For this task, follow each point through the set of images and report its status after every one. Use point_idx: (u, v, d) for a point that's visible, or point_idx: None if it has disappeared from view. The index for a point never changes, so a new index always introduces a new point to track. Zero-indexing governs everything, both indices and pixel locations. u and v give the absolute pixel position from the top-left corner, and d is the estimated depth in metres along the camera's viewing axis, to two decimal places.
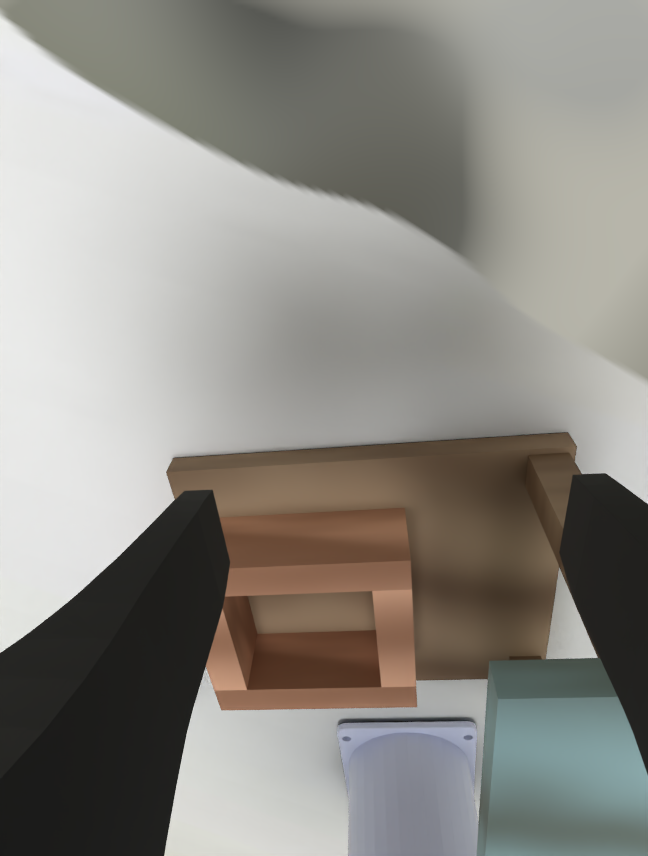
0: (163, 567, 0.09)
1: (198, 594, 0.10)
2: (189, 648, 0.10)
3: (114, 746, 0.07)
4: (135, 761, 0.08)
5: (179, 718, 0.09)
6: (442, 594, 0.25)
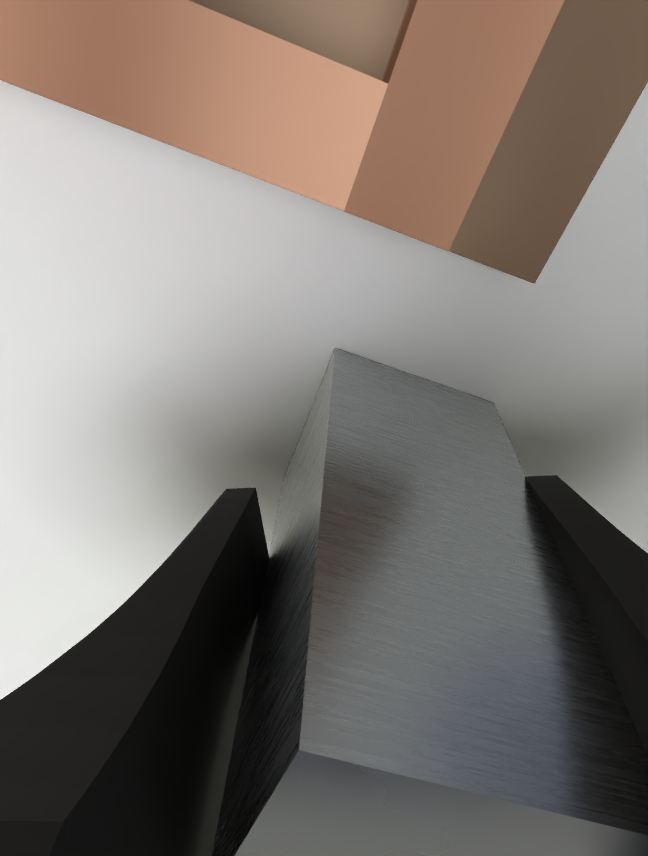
0: (217, 565, 0.09)
1: (245, 593, 0.10)
2: (238, 647, 0.10)
3: (181, 746, 0.07)
4: (197, 761, 0.08)
5: (231, 718, 0.09)
6: None
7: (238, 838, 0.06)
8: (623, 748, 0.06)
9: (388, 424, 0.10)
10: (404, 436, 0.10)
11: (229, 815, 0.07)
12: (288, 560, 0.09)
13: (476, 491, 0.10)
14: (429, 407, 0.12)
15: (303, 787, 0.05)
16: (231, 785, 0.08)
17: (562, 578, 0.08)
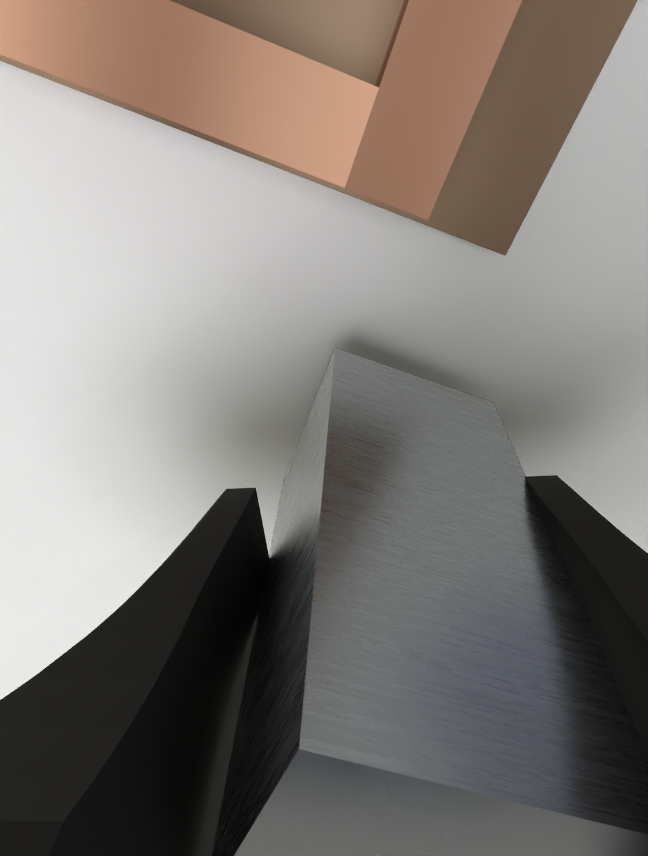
0: (217, 565, 0.09)
1: (245, 593, 0.10)
2: (238, 647, 0.10)
3: (181, 746, 0.07)
4: (197, 761, 0.08)
5: (231, 718, 0.09)
6: None
7: (238, 837, 0.06)
8: (623, 747, 0.06)
9: (388, 424, 0.10)
10: (404, 436, 0.10)
11: (229, 814, 0.07)
12: (288, 560, 0.09)
13: (476, 491, 0.10)
14: (429, 407, 0.12)
15: (304, 785, 0.05)
16: (231, 784, 0.08)
17: (561, 577, 0.08)
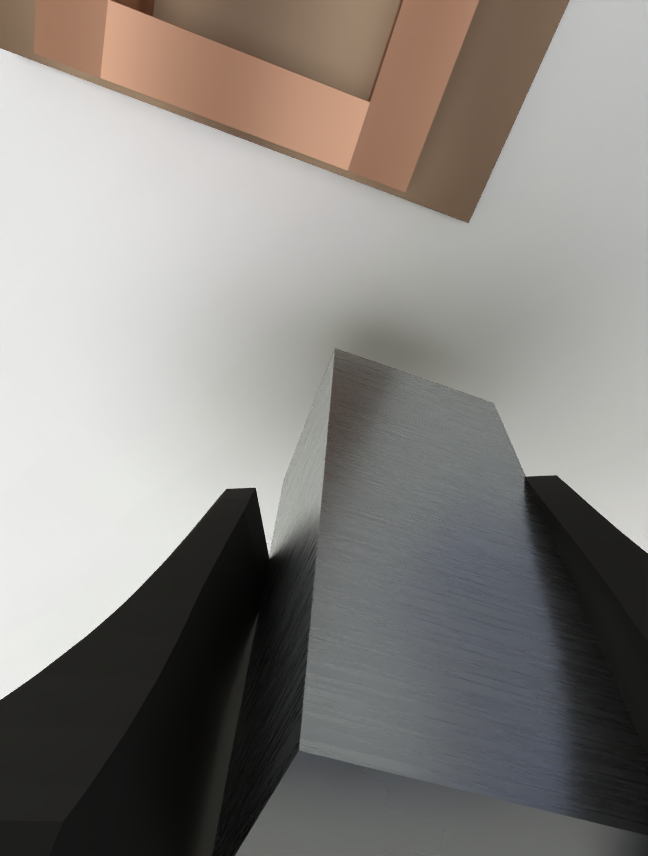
0: (217, 565, 0.09)
1: (245, 593, 0.10)
2: (238, 647, 0.10)
3: (181, 746, 0.07)
4: (197, 761, 0.08)
5: (231, 718, 0.09)
6: None
7: (238, 838, 0.06)
8: (623, 748, 0.06)
9: (388, 424, 0.10)
10: (404, 437, 0.10)
11: (229, 815, 0.07)
12: (288, 560, 0.09)
13: (476, 491, 0.10)
14: (429, 407, 0.12)
15: (304, 786, 0.05)
16: (231, 785, 0.08)
17: (561, 578, 0.08)
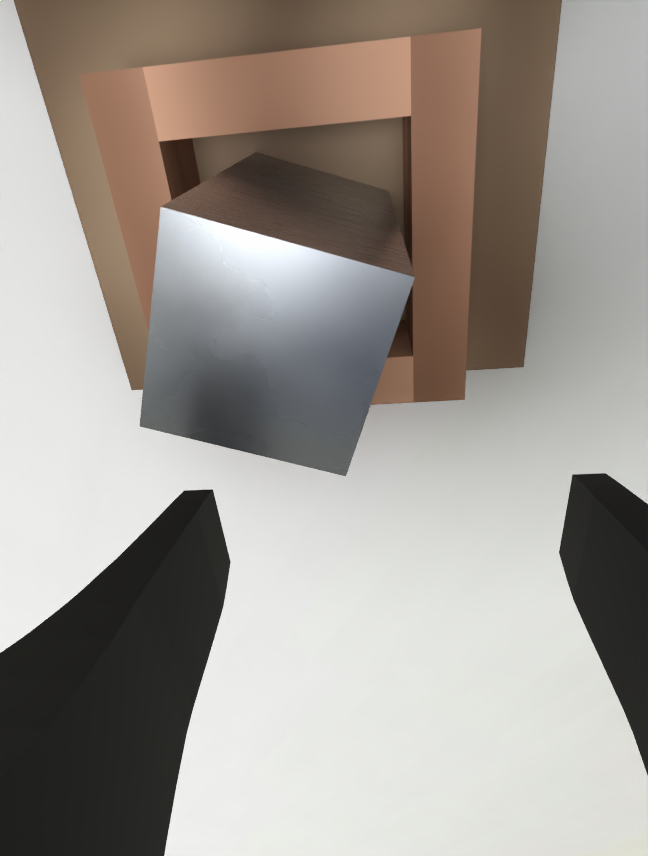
0: (163, 567, 0.09)
1: (198, 594, 0.10)
2: (189, 648, 0.10)
3: (114, 746, 0.07)
4: (135, 761, 0.08)
5: (180, 718, 0.09)
6: None
7: (150, 336, 0.10)
8: (393, 257, 0.09)
9: (284, 175, 0.14)
10: (295, 179, 0.14)
11: None
12: None
13: (344, 201, 0.13)
14: (326, 179, 0.15)
15: (172, 248, 0.09)
16: None
17: (392, 228, 0.12)
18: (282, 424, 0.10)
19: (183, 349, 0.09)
